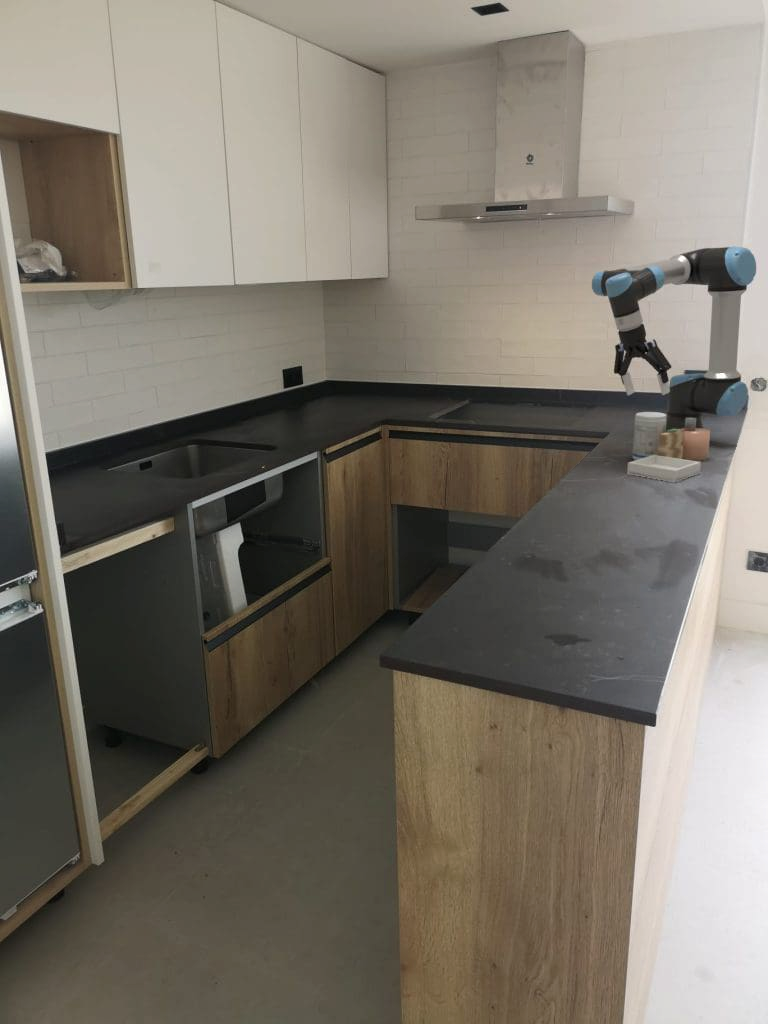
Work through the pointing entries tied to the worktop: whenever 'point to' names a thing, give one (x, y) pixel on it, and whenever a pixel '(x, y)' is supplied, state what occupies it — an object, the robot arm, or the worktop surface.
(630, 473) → the tray
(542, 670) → the worktop surface
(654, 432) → the supplement tub
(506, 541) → the worktop surface
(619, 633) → the worktop surface
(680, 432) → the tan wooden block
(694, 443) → the peach lotion bottle
